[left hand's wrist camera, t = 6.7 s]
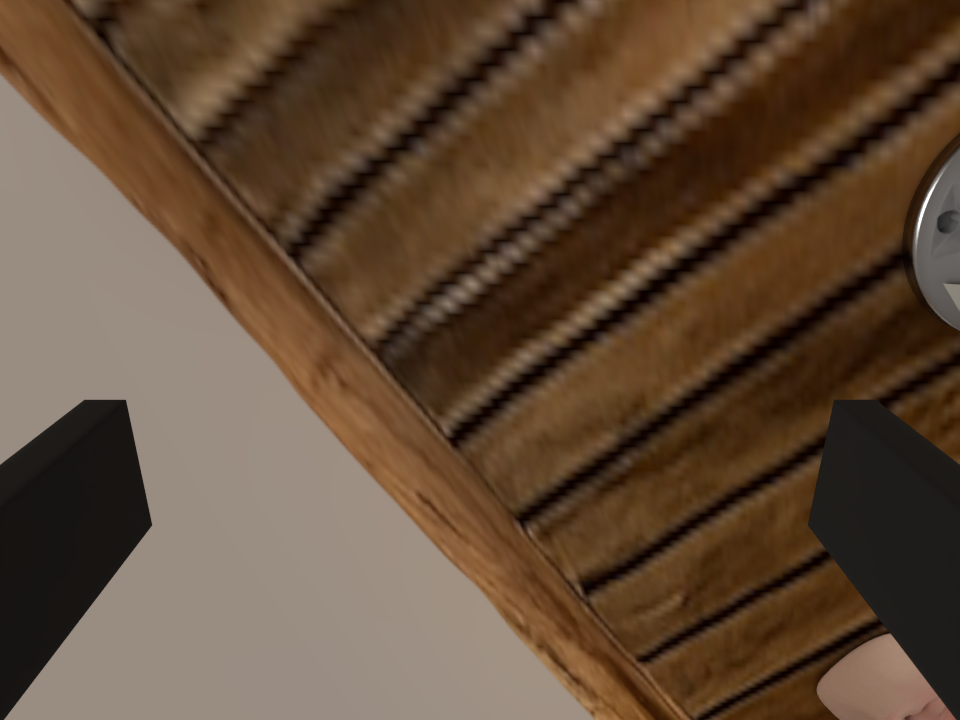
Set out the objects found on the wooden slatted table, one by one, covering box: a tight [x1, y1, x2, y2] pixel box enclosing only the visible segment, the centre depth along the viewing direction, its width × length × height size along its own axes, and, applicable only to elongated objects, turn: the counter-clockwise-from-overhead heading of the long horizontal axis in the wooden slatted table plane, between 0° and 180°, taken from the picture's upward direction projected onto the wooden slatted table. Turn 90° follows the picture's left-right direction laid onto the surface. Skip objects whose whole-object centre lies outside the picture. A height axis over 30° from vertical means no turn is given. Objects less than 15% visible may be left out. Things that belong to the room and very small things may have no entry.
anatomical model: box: [817, 633, 956, 720], centre depth 55 cm, size 13×4×12 cm
